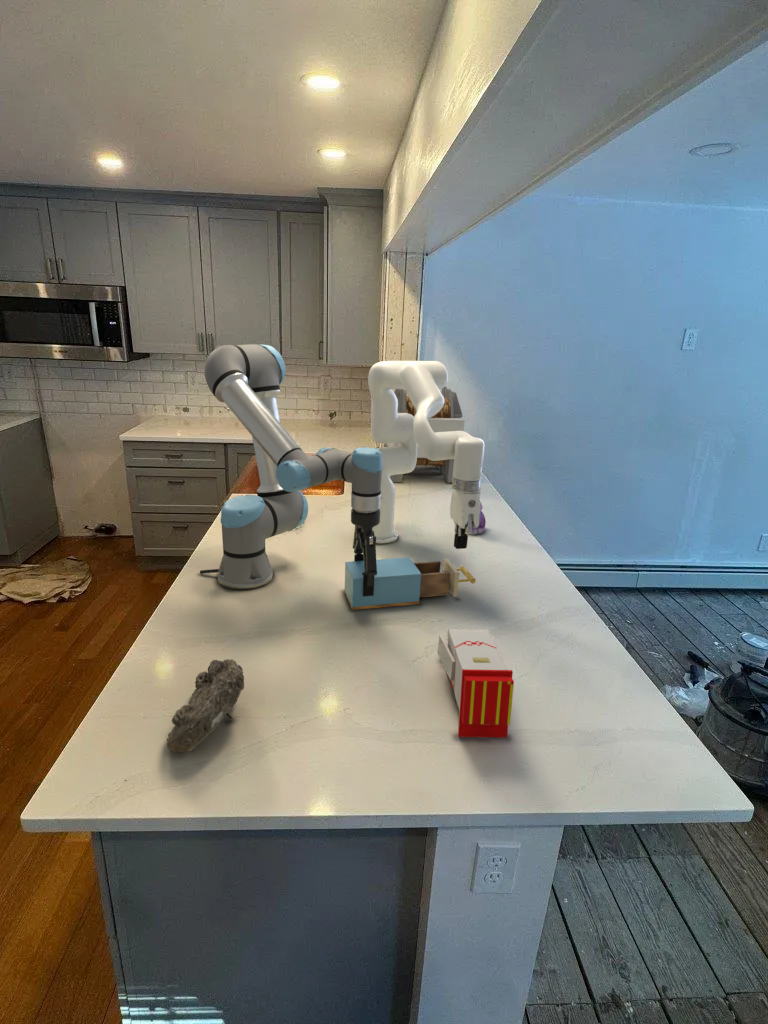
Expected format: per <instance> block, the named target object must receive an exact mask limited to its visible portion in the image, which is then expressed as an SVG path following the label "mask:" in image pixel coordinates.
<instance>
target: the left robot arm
mask: <svg viewBox="0 0 768 1024" xmlns="http://www.w3.org/2000/svg"><path fill="white" fill-rule="evenodd" d="M286 371H287V370H286V364H285V361H284V359H283V357H282V355H281V353H280V352H279V351H278V350H277V349H276V348H274V347H273V346H271V345H268V344H262V343H261V344H260V343H254V344H225V345H221V346H219V347H216V348H215V349H213V351H211V353H210V354H209V355H208V356H207V358H206V361H205V364H204V373H203V374H204V379H205V382H206V384H207V387H208V388H209V391H210V392H211V394H212V395H213V396H214V397H215V398H216V400H217V401H218V402H220V403H224V404H225V405H226V406H227V407H228V408H229V409H230V411H231V412H232V413H233V415H234V416H235V417H236V418H237V419H238V421H239V422H240V423H241V424H242V426H244V428H245V429H246V431H248V433H249V434H250V435H251V439H252V444H253V447H254V456H255V461H256V465H257V473H258V477H259V482H260V485H259V486H258V488H257V489H256V495H255V494H246V495H238V496H234V497H232V498H230V499H228V500H226V501H225V502H224V503H223V505H222V507H221V510H220V525H221V539H222V553H223V554H222V558H221V560H220V565H219V568H213V569H211V568H209V569H201V570H200V571H199V574H201V575H202V574H203V575H204V574H214V573H217V581H218V583H219V584H220V585H221V586H223V587H224V588H228V589H231V590H253V589H257V588H260V587H263V586H265V585H267V584H268V583H270V582H271V581H272V579H273V576H274V575H273V573H274V572H273V567H272V564H271V562H270V559H269V557H268V554H267V552H266V551H267V550H266V540H267V539H270V538H272V537H275V536H279V535H280V534H281V535H282V534H283V533H287V532H291V531H293V530H295V529H297V528H300V527H301V526H302V525H304V523H305V521H306V520H307V518H308V514H309V503H308V500H307V497H306V496H305V495H304V493H303V492H302V491H305V490H307V489H309V488H313V487H315V486H319V485H323V484H327V483H330V482H334V481H341V482H344V483H349V484H351V493H350V494H351V495H350V507H351V510H350V522H351V524H352V525H354V533H353V539H352V549H353V553H354V559H353V561H364V569H365V572H363V573H362V575H363V597H364V596H374V575H377V564H376V560H377V543H376V536H374V531H372V528H373V527H374V526H376V525H378V524H379V523H380V510H379V508H380V503H381V501H380V499H382V498H383V496H382V495H381V479H382V469H383V465H382V453H381V452H380V451H379V450H378V449H375V448H376V447H367V446H366V447H365V446H363V447H362V446H361V447H357V448H354V449H353V451H352V452H348V451H345V450H341V449H338V448H335V447H322V448H320V449H319V450H318V451H317V452H315V454H312V455H307V454H306V452H305V451H304V450H303V448H302V447H301V446H300V445H299V444H298V443H297V442H296V441H295V439H294V438H293V437H292V435H290V433H289V432H288V431H287V429H286V428H285V427H284V426H283V424H282V423H281V419H280V413H279V407H278V401H277V397H278V395H279V394H280V393H281V387H280V385H281V384H282V383H283V381H284V380H285V376H286Z"/></svg>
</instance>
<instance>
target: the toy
mask: <svg viewBox="0 0 768 1024" xmlns="http://www.w3.org/2000/svg"><path fill="white" fill-rule="evenodd" d="M446 640H447V643H446V641H445V639H444V636H443V635H442V634H439V637H438V646H437V656H438V657H439V659H440V661H441V663H442V666H443V668H444V670H445V672H446V674H447V677H448V679H449V681H450V684H451V687H452V690H453V693H454V697H455V701H456V705H457V708H458V711H459V714H458V715H459V716H458V730H457V731H458V732H457V737H458V738H508V731H509V726H510V725H511V717H512V707H513V697H514V696H513V695H514V684H515V680H514V679H513V673H514V671H513V670H512V669H508V667H507V665H506V662H505V661H504V659H503V658H502V655H501V653H500V651H499V649H498V647H497V643H496V639H495V637H494V635H493V634H491V632H490V631H489V629H467V628H466V629H465V628H463V629H461V628H460V629H459V628H448V630H447V639H446Z"/></svg>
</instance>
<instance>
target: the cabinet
mask: <svg viewBox="0 0 768 1024" xmlns="http://www.w3.org/2000/svg"><path fill="white" fill-rule="evenodd" d="M414 563H415V562H413V559H411V557H398V558H397V557H395V558H394V557H393V558H382V559H381V558H380V559H376V564H377V575H374V596H364V597H363V575H362V573H363V572H365V569H364V561H354V560H352V561H344V564H345V565H344V593H345V596H346V598H347V601H348V603H349V605H350V608H351V611H356V610H367V609H368V610H369V609H379V608H390V607H399V606H400V607H401V606H402V607H403V606H412V605H419V604H420V598H421V597H420V584H421V573H420V571H419V570H418V569H417V567H416V566H415V564H414Z"/></svg>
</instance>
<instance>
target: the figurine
mask: <svg viewBox="0 0 768 1024" xmlns="http://www.w3.org/2000/svg"><path fill="white" fill-rule="evenodd" d="M479 496H480V497H481V490H480V491H479ZM483 508H484V507H483V505H482V502H481V500H480V514H479V526H478V527H477V528H475V527H474V526H472V534H471V535H477V534H481V533H483V532H484V531H485V528H486V523H487V522H486V517H485V514H484V513H483V511H482V510H483Z"/></svg>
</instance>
